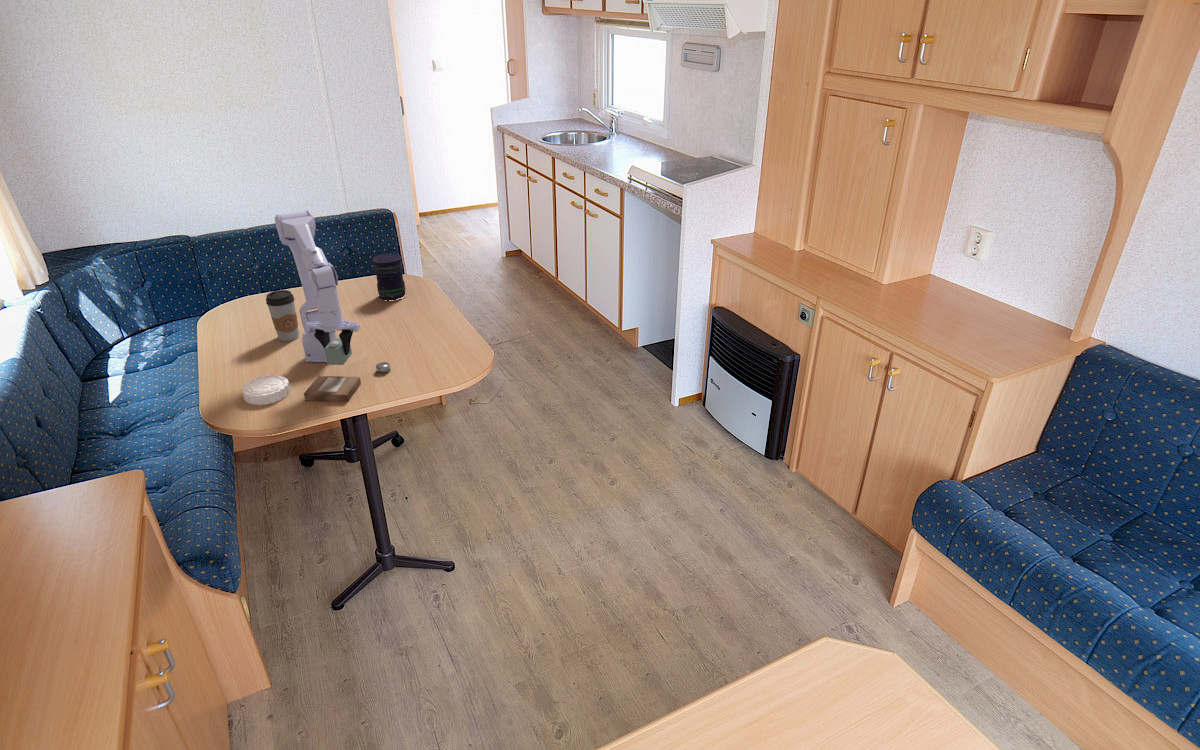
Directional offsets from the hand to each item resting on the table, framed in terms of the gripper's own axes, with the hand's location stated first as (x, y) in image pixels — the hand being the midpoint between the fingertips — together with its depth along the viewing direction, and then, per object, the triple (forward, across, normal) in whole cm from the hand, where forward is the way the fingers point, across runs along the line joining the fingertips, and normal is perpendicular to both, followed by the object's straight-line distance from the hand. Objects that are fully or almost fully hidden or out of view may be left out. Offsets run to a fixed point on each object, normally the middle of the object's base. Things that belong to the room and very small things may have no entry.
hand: (338, 353), depth 195 cm
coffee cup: (+8, -28, +27) cm, 40 cm away
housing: (+2, 0, 0) cm, 2 cm away
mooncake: (+9, -18, -9) cm, 22 cm away
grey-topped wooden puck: (+9, +10, +6) cm, 14 cm away
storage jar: (+8, -5, +63) cm, 64 cm away
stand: (+8, 0, -7) cm, 11 cm away
